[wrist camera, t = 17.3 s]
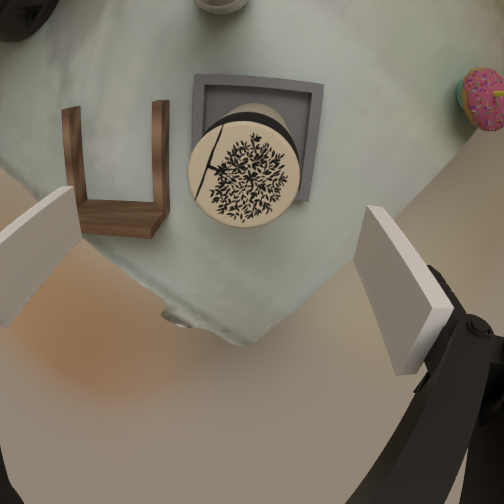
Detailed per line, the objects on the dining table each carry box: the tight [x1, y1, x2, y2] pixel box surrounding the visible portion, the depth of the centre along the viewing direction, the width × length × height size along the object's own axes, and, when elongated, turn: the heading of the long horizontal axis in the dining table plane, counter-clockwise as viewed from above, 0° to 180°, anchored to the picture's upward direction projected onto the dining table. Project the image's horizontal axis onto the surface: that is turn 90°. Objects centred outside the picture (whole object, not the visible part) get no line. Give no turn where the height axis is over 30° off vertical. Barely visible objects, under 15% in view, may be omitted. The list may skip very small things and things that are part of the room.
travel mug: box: [187, 103, 300, 228], centre depth 28 cm, size 8×8×18 cm
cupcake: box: [456, 67, 504, 131], centre depth 26 cm, size 9×8×12 cm
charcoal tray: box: [192, 74, 324, 201], centre depth 35 cm, size 14×14×2 cm
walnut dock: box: [62, 100, 170, 239], centre depth 35 cm, size 15×14×8 cm
